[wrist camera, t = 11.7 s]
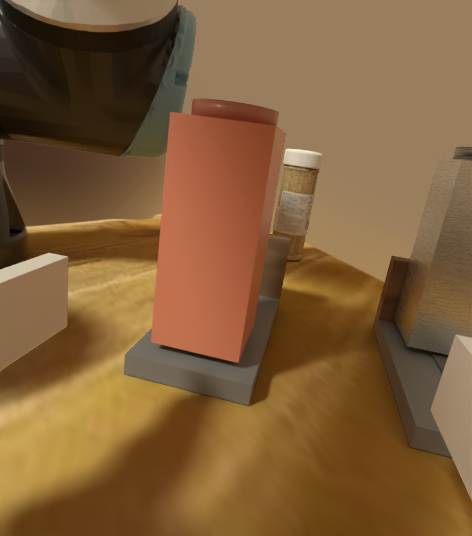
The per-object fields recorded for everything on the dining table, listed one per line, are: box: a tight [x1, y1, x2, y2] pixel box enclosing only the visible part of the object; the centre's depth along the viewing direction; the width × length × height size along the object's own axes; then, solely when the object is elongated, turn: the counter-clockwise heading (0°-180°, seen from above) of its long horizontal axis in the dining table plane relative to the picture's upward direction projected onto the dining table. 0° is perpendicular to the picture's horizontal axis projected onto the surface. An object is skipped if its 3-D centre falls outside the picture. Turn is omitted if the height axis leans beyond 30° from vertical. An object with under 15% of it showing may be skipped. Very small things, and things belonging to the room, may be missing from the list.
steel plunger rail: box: [373, 256, 452, 457], centre depth 24 cm, size 14×7×6 cm, turn 168°
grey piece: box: [124, 234, 291, 406], centre depth 27 cm, size 14×7×6 cm, turn 168°
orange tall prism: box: [151, 99, 286, 363], centre depth 22 cm, size 5×5×13 cm
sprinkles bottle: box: [273, 149, 322, 261], centre depth 49 cm, size 5×5×14 cm
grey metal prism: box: [394, 147, 472, 355], centre depth 26 cm, size 5×5×13 cm
